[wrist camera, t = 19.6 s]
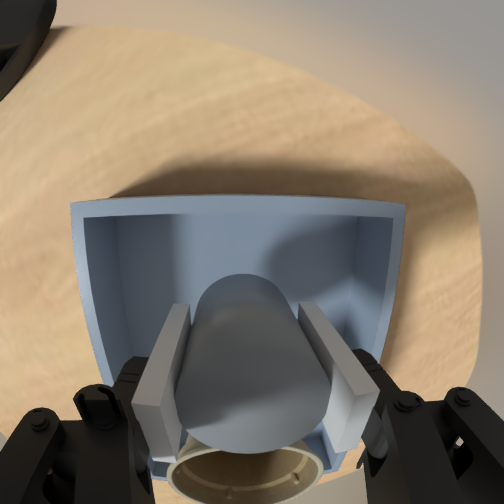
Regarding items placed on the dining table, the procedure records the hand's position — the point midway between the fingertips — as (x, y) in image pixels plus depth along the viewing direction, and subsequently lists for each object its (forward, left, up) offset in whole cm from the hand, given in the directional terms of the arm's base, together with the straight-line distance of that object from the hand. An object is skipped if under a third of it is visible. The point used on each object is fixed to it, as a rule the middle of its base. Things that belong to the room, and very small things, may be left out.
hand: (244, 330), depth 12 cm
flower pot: (+10, 0, -6) cm, 12 cm away
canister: (0, 0, -2) cm, 2 cm away
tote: (+6, 0, -6) cm, 9 cm away
